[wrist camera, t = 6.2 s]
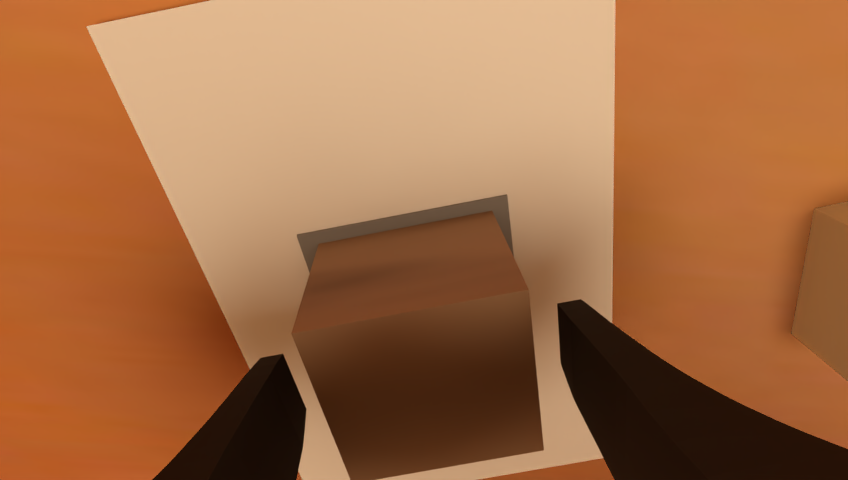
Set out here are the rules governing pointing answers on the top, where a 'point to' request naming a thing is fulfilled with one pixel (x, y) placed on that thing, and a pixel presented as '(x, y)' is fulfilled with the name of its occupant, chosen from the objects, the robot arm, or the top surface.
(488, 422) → the walnut block
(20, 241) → the top surface
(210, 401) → the top surface
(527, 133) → the board
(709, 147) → the top surface
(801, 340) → the sage block
